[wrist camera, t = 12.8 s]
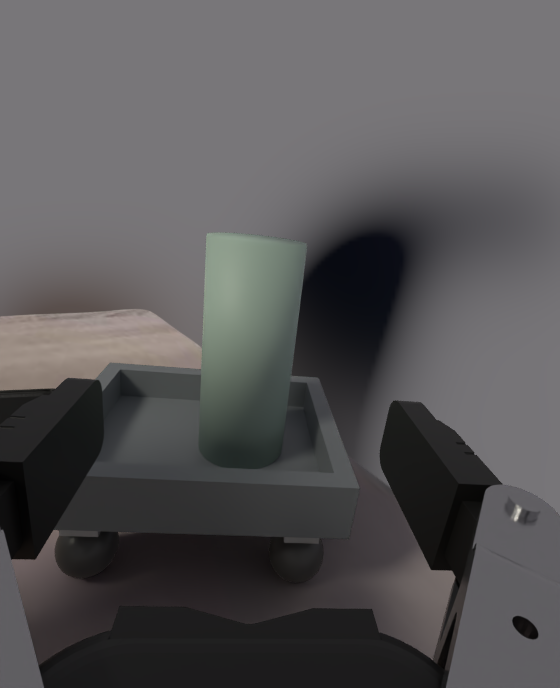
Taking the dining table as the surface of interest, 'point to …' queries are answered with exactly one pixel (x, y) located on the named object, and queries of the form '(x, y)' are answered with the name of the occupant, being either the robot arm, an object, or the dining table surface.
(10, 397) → the phone
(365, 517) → the dining table surface
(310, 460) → the tray
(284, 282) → the pale green cylinder
